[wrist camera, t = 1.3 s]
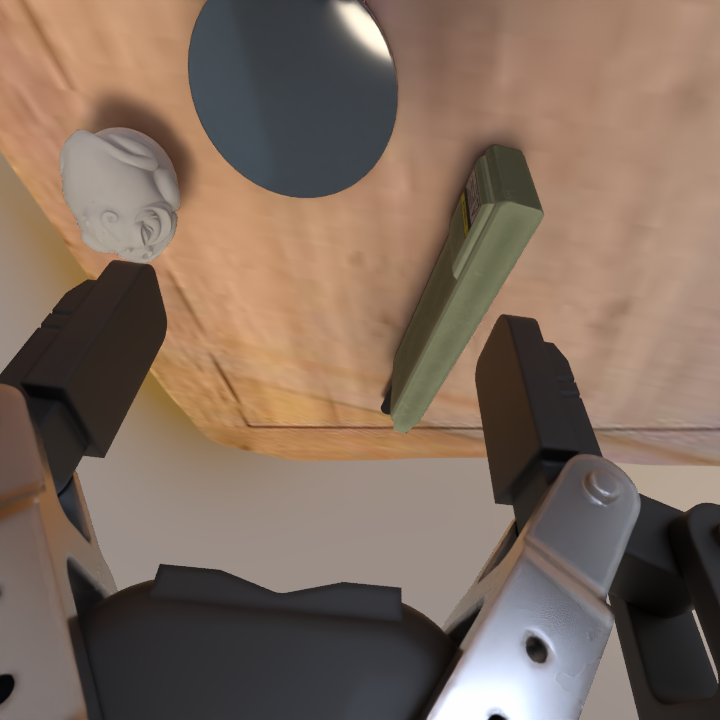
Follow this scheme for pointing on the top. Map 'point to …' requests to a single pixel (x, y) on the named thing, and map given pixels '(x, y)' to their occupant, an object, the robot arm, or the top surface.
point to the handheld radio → (464, 279)
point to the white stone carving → (121, 192)
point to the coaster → (294, 90)
